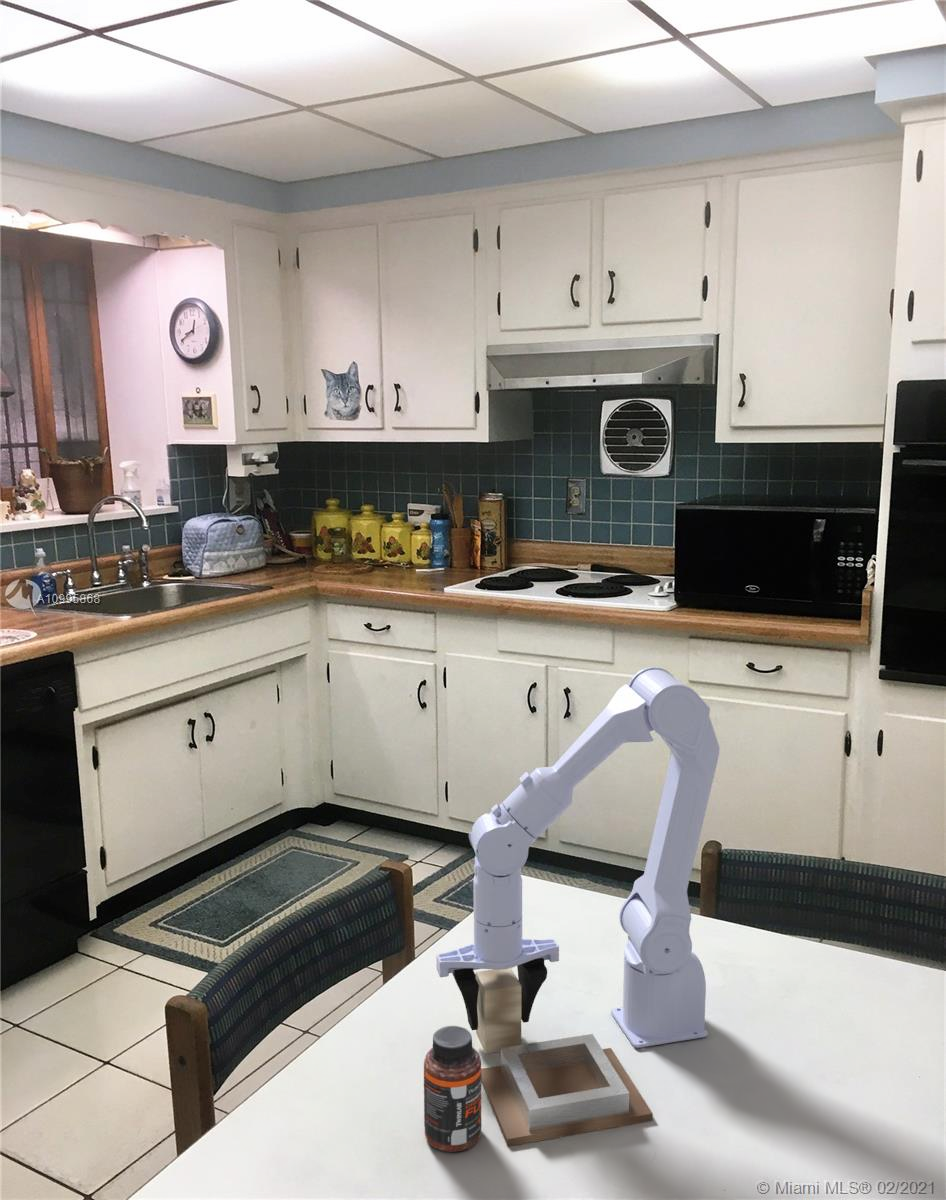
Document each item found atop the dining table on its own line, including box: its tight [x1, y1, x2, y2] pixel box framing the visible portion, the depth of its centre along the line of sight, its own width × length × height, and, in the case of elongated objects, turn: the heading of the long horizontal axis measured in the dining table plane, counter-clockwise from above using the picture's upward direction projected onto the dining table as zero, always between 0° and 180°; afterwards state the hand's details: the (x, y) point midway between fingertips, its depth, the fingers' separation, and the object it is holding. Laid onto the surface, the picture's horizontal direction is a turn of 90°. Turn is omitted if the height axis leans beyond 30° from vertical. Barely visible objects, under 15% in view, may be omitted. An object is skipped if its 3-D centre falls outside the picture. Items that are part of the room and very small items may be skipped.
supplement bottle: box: [423, 1025, 482, 1153], centre depth 106 cm, size 6×6×11 cm
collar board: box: [481, 1033, 654, 1147], centre depth 113 cm, size 16×12×3 cm
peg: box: [475, 967, 522, 1055], centre depth 123 cm, size 4×4×8 cm
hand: (498, 1021), depth 123 cm, fingers open, 6 cm apart
